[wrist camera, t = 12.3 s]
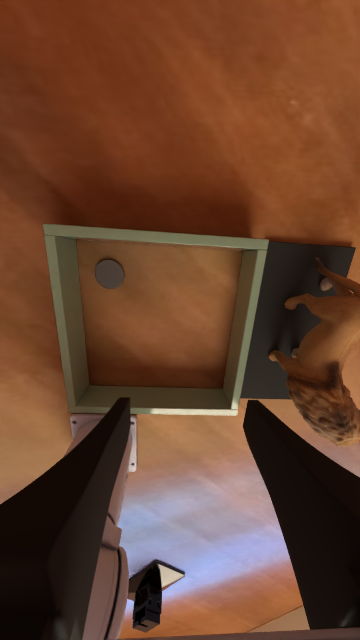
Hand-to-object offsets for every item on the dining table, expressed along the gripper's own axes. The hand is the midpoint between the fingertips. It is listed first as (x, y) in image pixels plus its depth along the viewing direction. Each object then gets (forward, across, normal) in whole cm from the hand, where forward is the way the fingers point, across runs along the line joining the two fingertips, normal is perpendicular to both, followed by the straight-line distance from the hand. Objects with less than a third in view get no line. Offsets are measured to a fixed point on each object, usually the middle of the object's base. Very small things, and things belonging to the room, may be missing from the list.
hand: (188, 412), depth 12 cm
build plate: (+11, +3, +49) cm, 50 cm away
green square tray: (+10, +2, -2) cm, 11 cm away
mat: (+10, -12, -2) cm, 16 cm away
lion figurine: (+10, -13, -2) cm, 16 cm away
